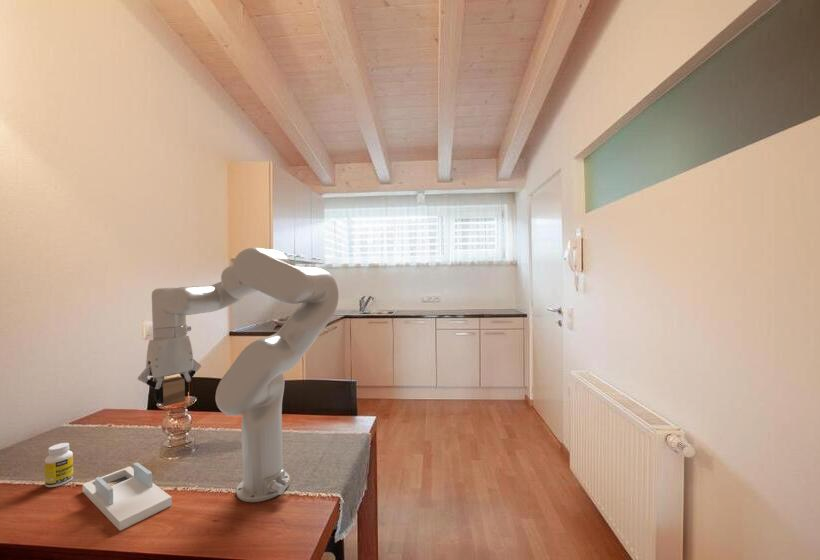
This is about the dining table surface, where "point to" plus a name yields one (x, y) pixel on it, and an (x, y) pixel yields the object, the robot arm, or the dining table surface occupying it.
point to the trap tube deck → (127, 496)
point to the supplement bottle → (58, 465)
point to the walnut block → (173, 390)
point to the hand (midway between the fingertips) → (172, 398)
